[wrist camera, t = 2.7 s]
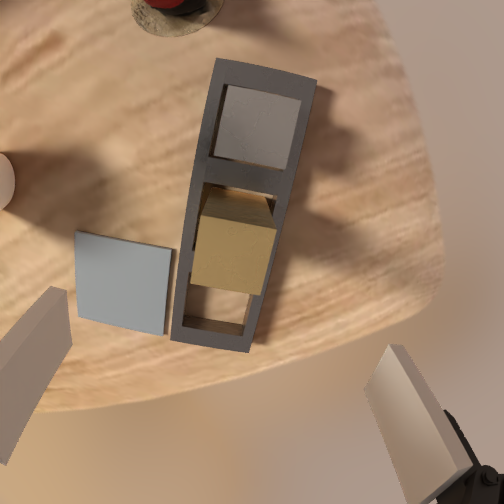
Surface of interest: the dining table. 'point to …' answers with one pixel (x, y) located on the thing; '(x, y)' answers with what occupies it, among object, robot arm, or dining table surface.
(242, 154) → the block
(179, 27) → the figurine
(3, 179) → the cup
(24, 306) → the dining table surface
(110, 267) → the mat
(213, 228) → the block
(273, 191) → the grey block holder tray
